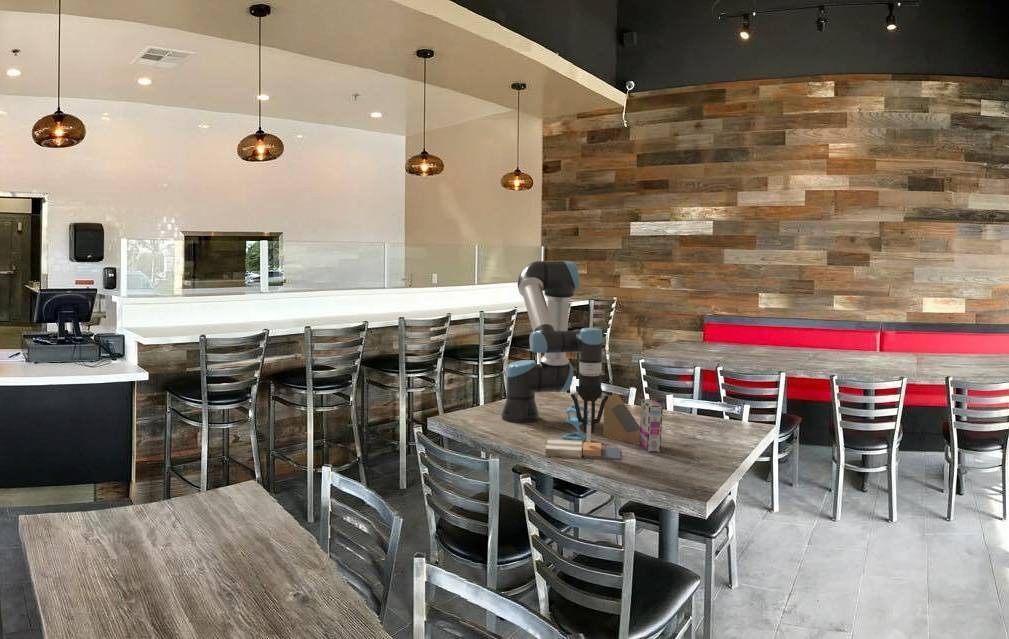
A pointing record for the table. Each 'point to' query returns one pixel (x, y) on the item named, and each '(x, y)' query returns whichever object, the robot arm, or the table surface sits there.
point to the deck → (564, 448)
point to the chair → (575, 424)
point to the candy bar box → (650, 425)
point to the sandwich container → (620, 421)
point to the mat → (608, 453)
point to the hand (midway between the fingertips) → (588, 442)
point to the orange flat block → (592, 449)
